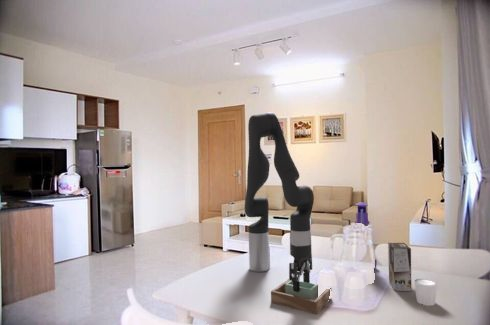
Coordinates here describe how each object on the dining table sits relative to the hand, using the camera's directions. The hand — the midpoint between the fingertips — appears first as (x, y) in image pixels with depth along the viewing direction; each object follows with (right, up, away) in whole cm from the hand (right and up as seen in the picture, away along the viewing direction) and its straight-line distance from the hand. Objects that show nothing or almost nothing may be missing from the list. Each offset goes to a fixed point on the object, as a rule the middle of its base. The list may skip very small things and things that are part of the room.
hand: (301, 287), depth 119 cm
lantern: (+34, -4, +33) cm, 47 cm away
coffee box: (+40, -4, +10) cm, 41 cm away
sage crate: (0, -4, 0) cm, 4 cm away
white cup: (+42, -4, -4) cm, 43 cm away
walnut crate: (0, -5, 0) cm, 5 cm away
